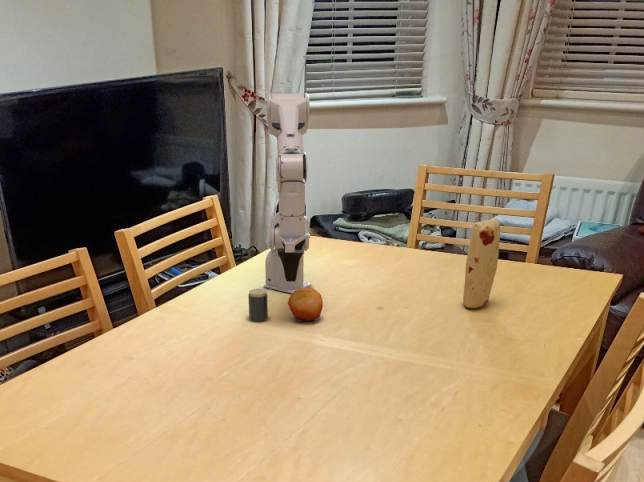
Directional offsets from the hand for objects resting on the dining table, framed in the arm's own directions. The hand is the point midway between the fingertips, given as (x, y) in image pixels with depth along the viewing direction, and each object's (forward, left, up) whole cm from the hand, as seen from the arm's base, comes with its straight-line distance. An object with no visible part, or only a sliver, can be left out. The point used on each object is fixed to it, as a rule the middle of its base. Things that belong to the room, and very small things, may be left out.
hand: (292, 275), depth 173 cm
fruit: (+3, 0, -10) cm, 10 cm away
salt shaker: (-6, -6, -10) cm, 13 cm away
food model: (+32, +31, -10) cm, 46 cm away
